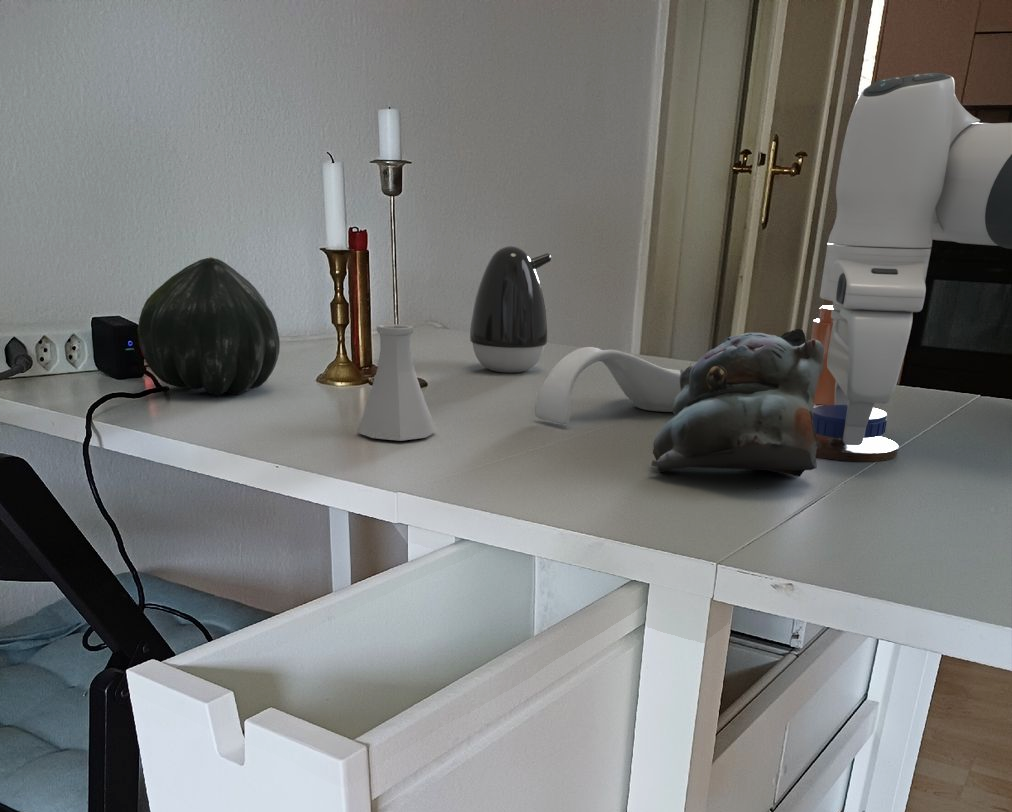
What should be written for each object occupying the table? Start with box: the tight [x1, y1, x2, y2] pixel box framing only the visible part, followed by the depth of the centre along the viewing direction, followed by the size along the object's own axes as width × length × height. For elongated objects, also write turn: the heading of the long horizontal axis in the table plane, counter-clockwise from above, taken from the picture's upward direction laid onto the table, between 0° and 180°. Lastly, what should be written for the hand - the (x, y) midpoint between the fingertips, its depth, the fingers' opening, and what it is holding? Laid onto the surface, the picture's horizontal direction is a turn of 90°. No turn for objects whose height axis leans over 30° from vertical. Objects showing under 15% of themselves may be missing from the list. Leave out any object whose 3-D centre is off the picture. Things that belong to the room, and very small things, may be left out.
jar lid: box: [813, 405, 888, 439], centre depth 97 cm, size 7×7×2 cm
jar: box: [810, 305, 836, 406], centre depth 119 cm, size 6×6×10 cm
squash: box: [137, 256, 281, 396], centre depth 113 cm, size 14×15×15 cm
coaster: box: [815, 433, 899, 463], centre depth 98 cm, size 10×10×1 cm
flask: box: [356, 323, 437, 442], centre depth 96 cm, size 7×7×10 cm
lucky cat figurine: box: [651, 328, 825, 477], centre depth 87 cm, size 15×12×14 cm
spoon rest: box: [534, 346, 681, 425], centre depth 109 cm, size 24×12×7 cm, turn 131°
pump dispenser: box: [469, 245, 552, 374], centre depth 132 cm, size 10×10×15 cm
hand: (846, 434), depth 97 cm, fingers closed on jar lid, 7 cm apart
